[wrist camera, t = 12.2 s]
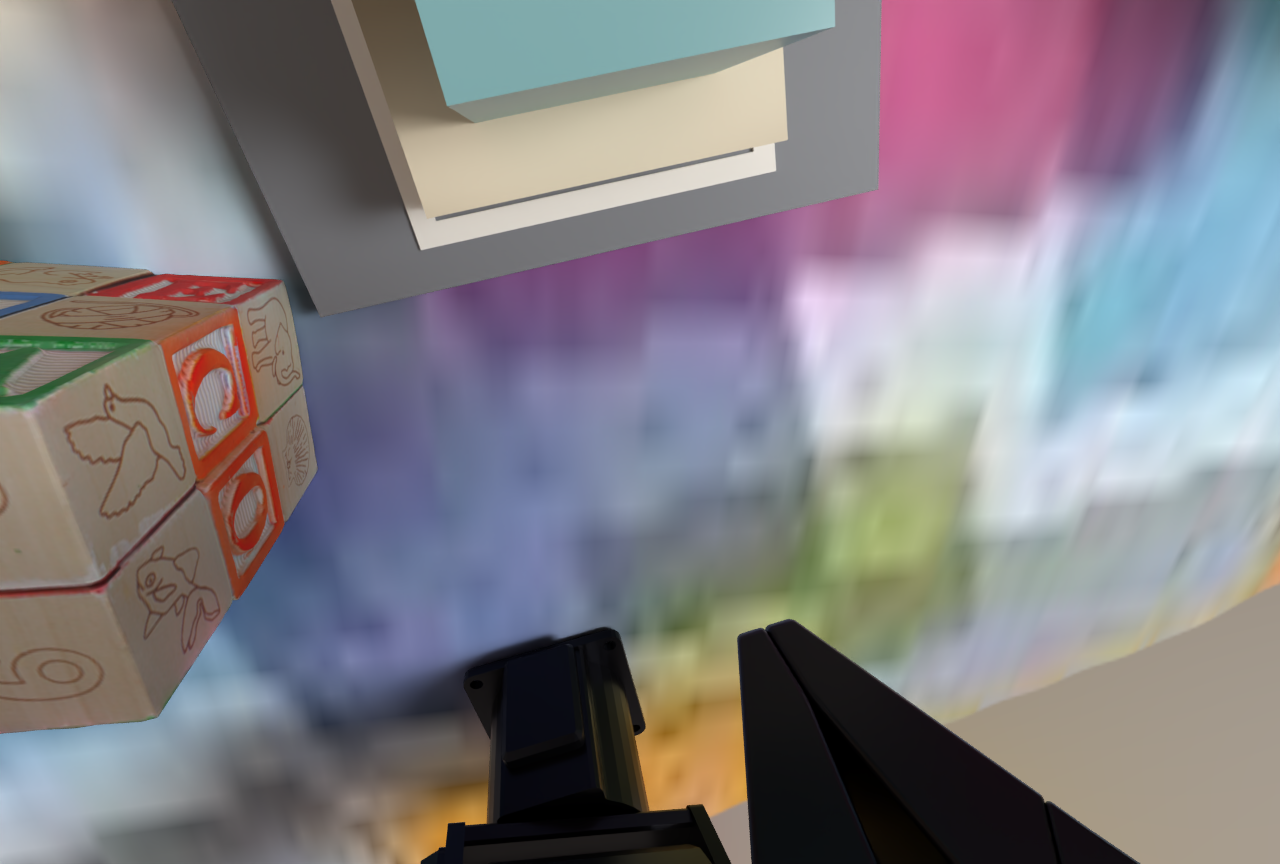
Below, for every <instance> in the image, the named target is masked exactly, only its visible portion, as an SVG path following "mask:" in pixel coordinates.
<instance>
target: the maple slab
mask: <svg viewBox="0 0 1280 864" xmlns="http://www.w3.org/2000/svg"><path fill="white" fill-rule="evenodd" d="M351 1H352V4H353V7H354V9H355V12H356V15H357V18H358V21H359V24H360V27H361V30H362V33H363V35H364V38H365V41H366V44H367V47H368V50H369V53H370V56H371V58H372V61H373V64H374V67H375V70H376V73H377V76H378V79H379V82H380V84H381V87H382V90H383V93H384V96H385V99H386V102H387V105H388V108H389V110H390V113H391V116H392V119H393V122H394V125H395V128H396V131H397V133H398V136H399V139H400V142H401V145H402V148H403V151H404V154H405V157H406V159H407V162H408V165H409V168H410V171H411V174H412V177H413V180H414V183H415V185H416V188H417V191H418V194H419V197H420V200H421V203H422V206H423V209H424V211H425V214H426V217H427V219H429V218H433V217H438V216H442V215H447V214H452V213H456V212H461V211H465V210H470V209H474V208H479V207H484V206H488V205H493V204H497V203H502V202H507V201H511V200H516V199H520V198H525V197H529V196H534V195H539V194H543V193H548V192H552V191H557V190H561V189H566V188H571V187H575V186H580V185H584V184H589V183H593V182H598V181H603V180H607V179H612V178H616V177H621V176H625V175H630V174H635V173H639V172H644V171H648V170H653V169H658V168H662V167H667V166H671V165H676V164H680V163H685V162H690V161H694V160H699V159H703V158H708V157H712V156H717V155H722V154H726V153H731V152H735V151H740V150H744V149H749V148H754V147H758V146H763V145H767V144H772V143H777V142H781V141H786V140H788V132H787V113H786V94H785V74H784V55H783V47H781V48H779V49H776V50H774V51H771V52H769V53H766V54H763V55H761V56H758V57H756V58H753V59H750V60H748V61H745V62H743V63H740V64H738V65H735V66H732V67H730V68H727V69H725V70H722V71H719V72H717V73H714V74H709V75H704V76H699V77H694V78H690V79H685V80H680V81H675V82H670V83H666V84H661V85H656V86H651V87H646V88H642V89H637V90H632V91H627V92H622V93H617V94H613V95H608V96H603V97H598V98H593V99H589V100H584V101H579V102H574V103H569V104H565V105H560V106H555V107H550V108H545V109H541V110H536V111H531V112H526V113H521V114H516V115H512V116H507V117H502V118H497V119H492V120H488V121H483V122H478V123H474V122H472V121H471V120H469V119H467V118H466V117H464V116H463V115H461V114H459V113H458V112H456V111H454V110H453V109H451V108H449V107H448V106H447V104H446V101H445V98H444V94H443V91H442V88H441V84H440V81H439V78H438V75H437V71H436V68H435V65H434V61H433V58H432V55H431V52H430V48H429V45H428V42H427V38H426V35H425V32H424V29H423V25H422V22H421V19H420V15H419V12H418V9H417V6H416V2H415V0H351Z"/></svg>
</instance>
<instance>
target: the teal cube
mask: <svg viewBox="0 0 1280 864" xmlns="http://www.w3.org/2000/svg"><path fill="white" fill-rule="evenodd" d="M415 2H416V6H417V9H418V12H419V15H420V19H421V22H422V25H423V29H424V32H425V35H426V38H427V42H428V45H429V48H430V52H431V55H432V58H433V61H434V65H435V68H436V71H437V75H438V78H439V81H440V84H441V88H442V91H443V94H444V98H445V101H446V104H447V106H448V107H449V108H451V109H453V110H454V111H456V112H458V113H459V114H461V115H463V116H464V117H466V118H467V119H469V120H471V121H472V122H474V123H478V122H483V121H488V120H492V119H497V118H502V117H507V116H512V115H516V114H521V113H526V112H531V111H536V110H541V109H545V108H550V107H555V106H560V105H565V104H569V103H574V102H579V101H584V100H589V99H593V98H598V97H603V96H608V95H613V94H617V93H622V92H627V91H632V90H637V89H642V88H646V87H651V86H656V85H661V84H666V83H670V82H675V81H680V80H685V79H690V78H694V77H699V76H704V75H709V74H714V73H717V72H719V71H722V70H725V69H727V68H730V67H732V66H735V65H738V64H740V63H743V62H745V61H748V60H750V59H753V58H756V57H758V56H761V55H763V54H766V53H769V52H771V51H774V50H776V49H779V48H781V47H784V46H787V45H789V44H792V43H794V42H797V41H800V40H802V39H805V38H807V37H810V36H812V35H815V34H818V33H820V32H823V31H825V30H828V29H831V28H833V27H835V0H415Z"/></svg>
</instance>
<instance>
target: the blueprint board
mask: <svg viewBox="0 0 1280 864" xmlns="http://www.w3.org/2000/svg"><path fill="white" fill-rule="evenodd" d="M172 2H173V4H174V6H175V9H176V11H177V13H178V15H179V17H180V19H181V21H182V23H183V26H184V28H185V30H186V32H187V34H188V36H189V38H190V40H191V43H192V45H193V47H194V49H195V51H196V53H197V55H198V57H199V60H200V62H201V64H202V66H203V68H204V70H205V72H206V75H207V77H208V79H209V81H210V83H211V85H212V87H213V89H214V92H215V94H216V96H217V98H218V100H219V102H220V104H221V106H222V109H223V111H224V113H225V115H226V117H227V119H228V121H229V123H230V126H231V128H232V130H233V132H234V134H235V136H236V138H237V140H238V143H239V145H240V147H241V149H242V151H243V153H244V155H245V157H246V160H247V162H248V164H249V166H250V168H251V170H252V172H253V175H254V177H255V179H256V181H257V183H258V185H259V187H260V189H261V192H262V194H263V196H264V198H265V200H266V202H267V204H268V206H269V209H270V211H271V213H272V215H273V217H274V219H275V221H276V223H277V226H278V228H279V230H280V232H281V234H282V236H283V238H284V240H285V243H286V245H287V247H288V249H289V251H290V253H291V255H292V258H293V260H294V262H295V264H296V266H297V268H298V270H299V272H300V275H301V277H302V279H303V281H304V283H305V285H306V287H307V289H308V292H309V294H310V296H311V298H312V300H313V302H314V304H315V306H316V309H317V311H318V313H319V315H320V317H325V316H329V315H333V314H338V313H342V312H347V311H351V310H355V309H360V308H364V307H368V306H373V305H377V304H381V303H386V302H390V301H394V300H399V299H403V298H408V297H412V296H416V295H421V294H425V293H429V292H434V291H438V290H442V289H447V288H451V287H455V286H460V285H464V284H469V283H473V282H477V281H482V280H486V279H490V278H495V277H499V276H503V275H508V274H512V273H516V272H521V271H525V270H529V269H534V268H538V267H543V266H547V265H551V264H556V263H560V262H564V261H569V260H573V259H577V258H582V257H586V256H590V255H595V254H599V253H604V252H608V251H612V250H617V249H621V248H625V247H630V246H634V245H638V244H643V243H647V242H651V241H656V240H660V239H664V238H669V237H673V236H678V235H682V234H686V233H691V232H695V231H699V230H704V229H708V228H712V227H717V226H721V225H725V224H730V223H734V222H739V221H743V220H747V219H752V218H756V217H760V216H765V215H769V214H773V213H778V212H782V211H786V210H791V209H795V208H799V207H804V206H808V205H813V204H817V203H821V202H826V201H830V200H834V199H839V198H843V197H847V196H852V195H856V194H860V193H865V192H869V191H874V190H878V172H879V114H880V56H881V0H835V27H833V28H831V29H828V30H825V31H823V32H820V33H818V34H815V35H812V36H810V37H807V38H805V39H802V40H800V41H797V42H794V43H792V44H789V45H787V46H784V47H783V55H784V74H785V94H786V113H787V132H788V140H786V141H781V142H777V143H772V144H767V145H763V146H758V147H754V148H749V149H744V150H740V151H735V152H731V153H726V154H722V155H717V156H712V157H708V158H703V159H699V160H694V161H690V162H685V163H680V164H676V165H671V166H667V167H662V168H658V169H653V170H648V171H644V172H639V173H635V174H630V175H625V176H621V177H616V178H612V179H607V180H603V181H598V182H593V183H589V184H584V185H580V186H575V187H571V188H566V189H561V190H557V191H552V192H548V193H543V194H539V195H534V196H529V197H525V198H520V199H516V200H511V201H507V202H502V203H497V204H493V205H488V206H484V207H479V208H474V209H470V210H465V211H461V212H456V213H452V214H447V215H442V216H438V217H433V218H429V219H427V217H426V214H425V211H424V209H423V206H422V203H421V200H420V197H419V194H418V191H417V188H416V185H415V183H414V180H413V177H412V174H411V171H410V168H409V165H408V162H407V159H406V157H405V154H404V151H403V148H402V145H401V142H400V139H399V136H398V133H397V131H396V128H395V125H394V122H393V119H392V116H391V113H390V110H389V108H388V105H387V102H386V99H385V96H384V93H383V90H382V87H381V84H380V82H379V79H378V76H377V73H376V70H375V67H374V64H373V61H372V58H371V56H370V53H369V50H368V47H367V44H366V41H365V38H364V35H363V33H362V30H361V27H360V24H359V21H358V18H357V15H356V12H355V9H354V7H353V4H352V1H351V0H172Z"/></svg>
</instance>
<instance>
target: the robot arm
mask: <svg viewBox="0 0 1280 864" xmlns="http://www.w3.org/2000/svg"><path fill="white" fill-rule="evenodd" d="M609 641H612V642H610V643H607V642H609ZM737 643H738V659H739V674H740V690H741V705H742V721H743V736H744V752H745V767H746V783H747V798H748V813H749V829H750V845H751V860H752V864H1140V863H1139V862H1137V861H1136V860H1134V859H1133V858H1131V857H1130V856H1128V855H1127V854H1125V853H1124V852H1122V851H1121V850H1120V849H1118V848H1116V847H1115V846H1114V845H1112V844H1111V843H1109V842H1108V841H1106V840H1105V839H1103V838H1102V837H1100V836H1099V835H1097V834H1096V833H1094V832H1093V831H1091V830H1090V829H1089V828H1087V827H1086V826H1084V825H1083V824H1082V823H1080V822H1079V821H1077V820H1076V819H1075V818H1073V817H1072V816H1070V815H1069V814H1068V813H1066V812H1065V811H1063V810H1062V809H1061V808H1059V807H1058V806H1056V805H1055V804H1054V803H1052V802H1050V801H1047V802H1046V803H1045V802H1044V799H1043V797H1042V796H1041V795H1040V794H1039V793H1038V792H1036V791H1035V790H1033V789H1032V788H1031V787H1029V786H1028V785H1026V784H1025V783H1024V782H1022V781H1021V780H1019V779H1018V778H1016V777H1015V776H1014V775H1012V774H1011V773H1009V772H1008V771H1007V770H1005V769H1004V768H1002V767H1001V766H1000V765H998V764H997V763H995V762H994V761H992V760H991V759H990V758H988V757H987V756H985V755H984V754H983V753H981V752H980V751H978V750H977V749H975V748H974V747H973V746H971V745H970V744H968V743H967V742H966V741H964V740H963V739H961V738H960V737H959V736H957V735H956V734H954V733H953V732H952V731H950V730H948V729H947V728H946V727H945V726H943V725H942V724H940V723H939V722H937V721H936V720H935V719H933V718H932V717H930V716H929V715H928V714H926V713H925V712H923V711H922V710H921V709H919V708H918V707H916V706H915V705H914V704H912V703H911V702H909V701H908V700H906V699H905V698H904V697H902V696H901V695H899V694H898V693H897V692H895V691H894V690H892V689H891V688H890V687H888V686H887V685H885V684H884V683H882V682H881V681H880V680H878V679H877V678H875V677H874V676H873V675H871V674H870V673H868V672H867V671H866V670H864V669H863V668H861V667H860V666H859V665H857V664H856V663H854V662H853V661H851V660H850V659H849V658H847V657H846V656H844V655H843V654H842V653H840V652H839V651H837V650H836V649H835V648H833V647H832V646H830V645H829V644H827V643H826V642H825V641H823V640H822V639H820V638H819V637H818V636H816V635H815V634H813V633H812V632H811V631H809V630H808V629H806V628H805V627H804V626H802V625H801V624H799V623H798V622H796V621H795V620H792V619H787V620H783V621H780V622H777V623H774V624H771V625H768V626H767V627H766V629H765V630H764V629H763V628H758V629H755V630H751V631H748V632H745V633H742V634H740V635H739V636H738V638H737ZM474 680H479V681H474ZM463 685H464V689H465V691H466V693H467V695H468V697H469V699H470V701H471V703H472V705H473V707H474V709H475V711H476V713H477V714H478V716H479V718H480V720H481V722H482V724H483V726H484V728H485V730H486V732H487V734H488V736H489V738H490V740H491V741H490V763H489V784H488V806H487V824H477V825H465V822H460V823H448V830H447V839H446V847H441V848H439V850H438V851H436V852H435V853H433V854H431V855H430V856H428V857H427V858H425V859H423V860H422V861H421V864H731V862H730V860H729V858H728V856H727V854H726V852H725V850H724V848H723V845H722V843H721V841H720V839H719V838H718V835H717V833H716V831H715V829H714V827H713V825H712V823H711V821H710V818H709V816H708V814H707V812H706V810H705V808H704V806H703V805H702V804H699V805H687V807H686V808H685V809H672V810H659V811H649V806H648V801H647V796H646V791H645V786H644V781H643V776H642V771H641V766H640V761H639V756H638V751H637V746H636V741H635V736H636V735H638V734H641V733H642V732H643V731H644V730H645V721H644V717H643V713H642V710H641V706H640V703H639V699H638V696H637V692H636V689H635V685H634V682H633V678H632V675H631V671H630V668H629V664H628V661H627V658H626V654H625V651H624V647H623V644H622V640H621V637H620V634H619V633H618V632H617V631H616V630H611V629H610V630H604V631H601V632H597V633H594V634H590V635H587V636H583V637H580V638H576V639H573V640H570V641H566V642H563V643H559V644H556V645H552V646H549V647H545V648H542V649H538V650H535V651H531V652H528V653H524V654H521V655H517V656H514V657H510V658H507V659H503V660H500V661H497V662H493V663H490V664H486V665H483V666H479V667H476V668H473V669H470V670H468V671H467V672H466V674H465V676H464V684H463Z"/></svg>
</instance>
